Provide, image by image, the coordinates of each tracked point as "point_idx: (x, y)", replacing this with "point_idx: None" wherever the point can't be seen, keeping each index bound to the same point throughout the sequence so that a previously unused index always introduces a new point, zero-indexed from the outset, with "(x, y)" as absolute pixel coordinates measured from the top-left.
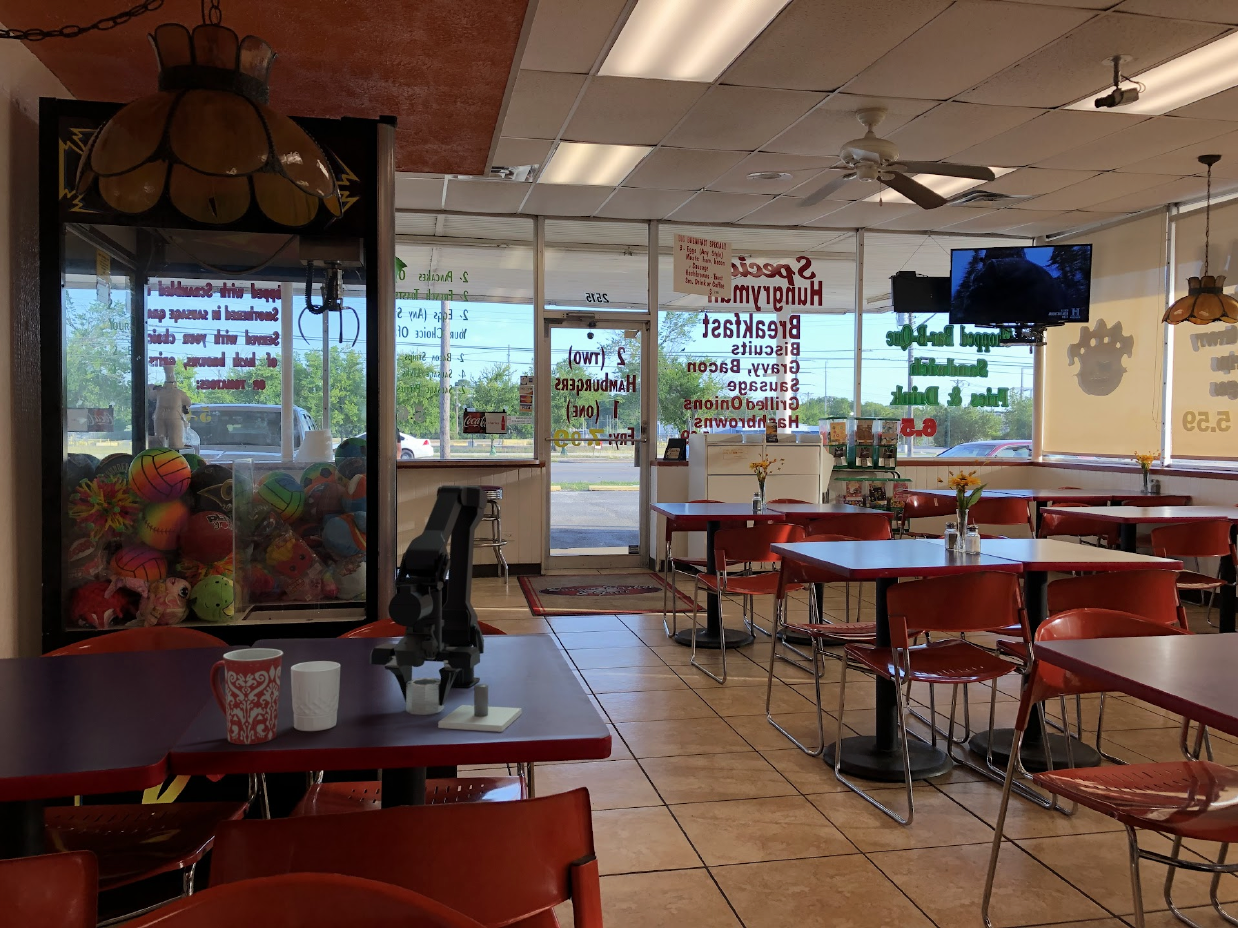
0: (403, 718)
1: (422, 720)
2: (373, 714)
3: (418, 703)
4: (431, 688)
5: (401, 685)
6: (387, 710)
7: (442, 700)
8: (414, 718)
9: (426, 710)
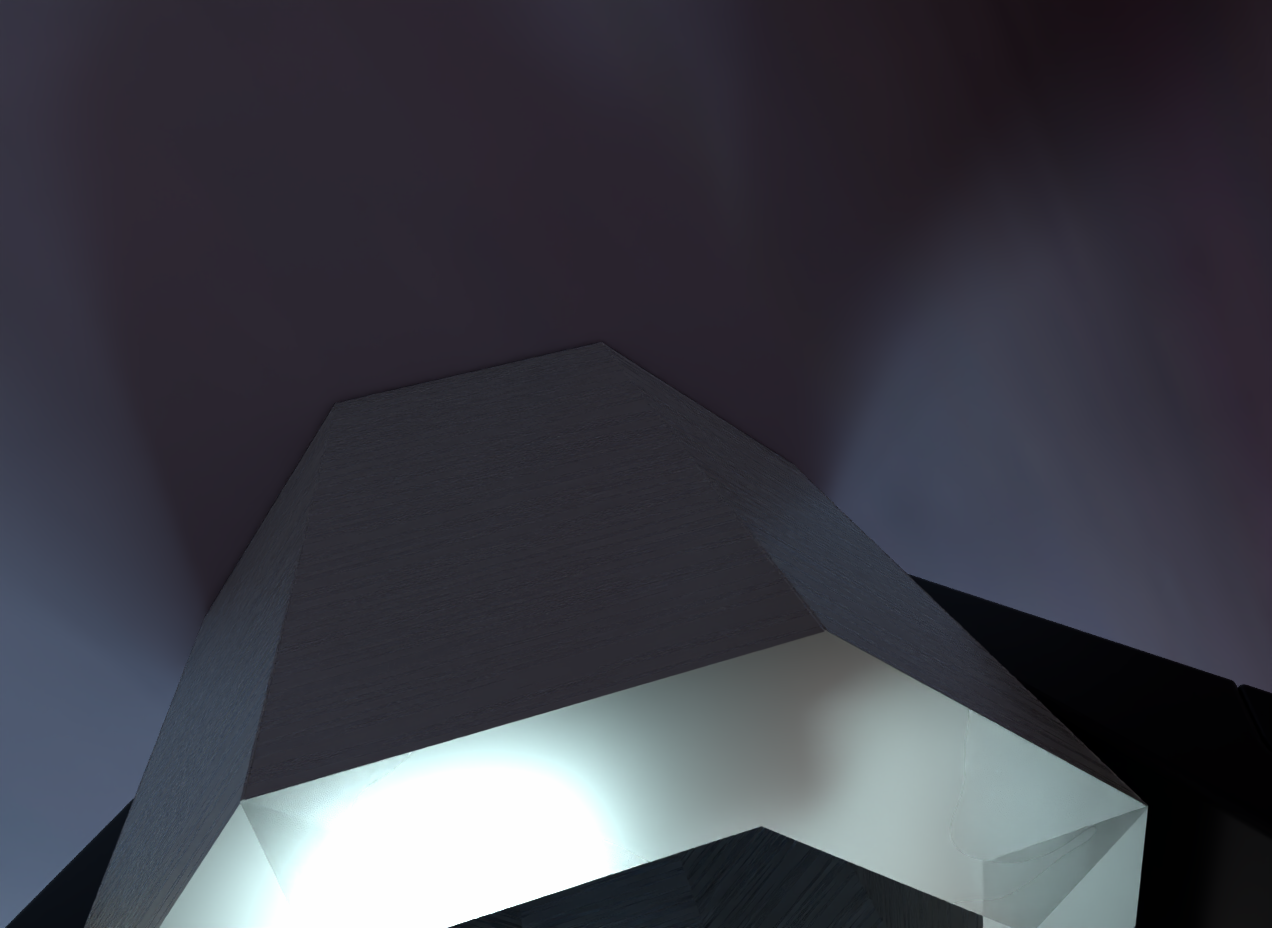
0: (569, 4)
1: (71, 11)
2: (1203, 47)
3: (486, 448)
4: (144, 896)
5: (1211, 701)
6: (1076, 360)
7: (107, 835)
8: (357, 95)
9: (313, 456)
